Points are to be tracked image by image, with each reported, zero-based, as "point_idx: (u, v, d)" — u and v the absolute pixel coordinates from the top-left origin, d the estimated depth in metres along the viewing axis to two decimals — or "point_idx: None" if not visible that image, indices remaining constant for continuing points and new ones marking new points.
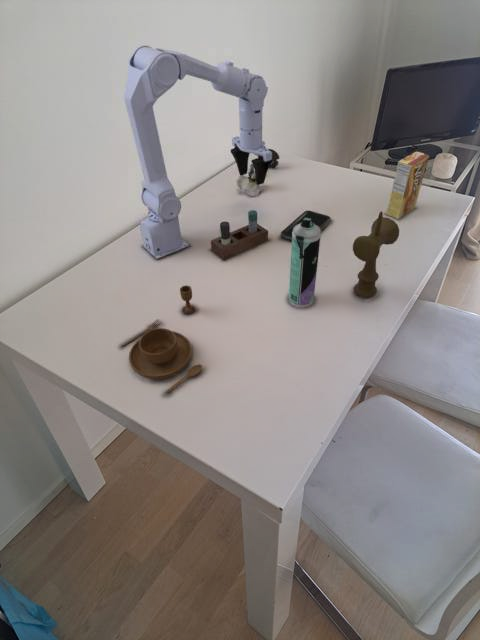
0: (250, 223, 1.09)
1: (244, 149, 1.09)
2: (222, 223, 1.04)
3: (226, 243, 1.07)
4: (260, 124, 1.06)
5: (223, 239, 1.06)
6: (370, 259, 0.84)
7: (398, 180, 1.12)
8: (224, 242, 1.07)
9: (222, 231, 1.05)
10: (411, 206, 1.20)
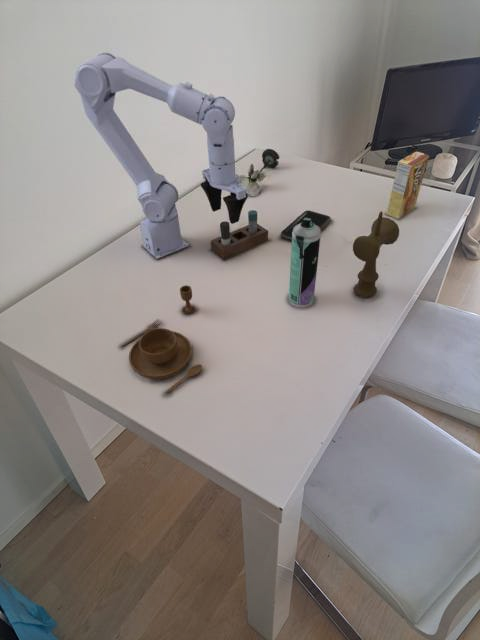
0: (250, 223, 1.09)
1: (214, 185, 0.96)
2: (222, 223, 1.04)
3: (226, 243, 1.07)
4: (223, 160, 0.92)
5: (223, 239, 1.06)
6: (370, 259, 0.84)
7: (398, 180, 1.12)
8: (224, 242, 1.07)
9: (222, 231, 1.05)
10: (411, 206, 1.20)
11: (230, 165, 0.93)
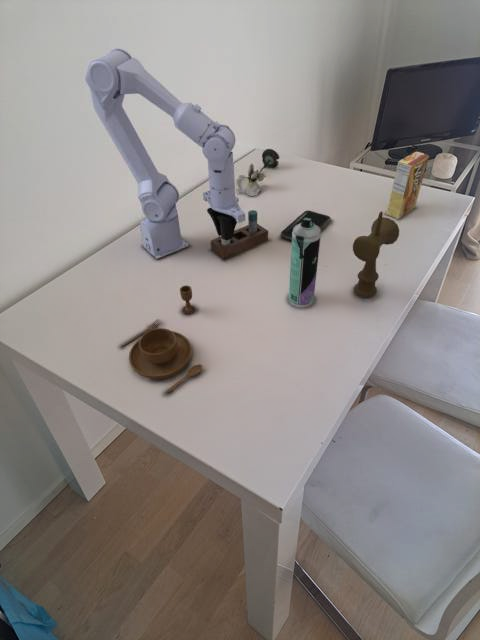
0: (250, 223, 1.09)
1: (215, 208, 0.99)
2: None
3: (226, 243, 1.07)
4: (223, 185, 0.95)
5: (223, 239, 1.06)
6: (370, 259, 0.84)
7: (398, 180, 1.12)
8: (224, 241, 1.07)
9: (222, 231, 1.05)
10: (411, 206, 1.20)
11: (230, 190, 0.96)
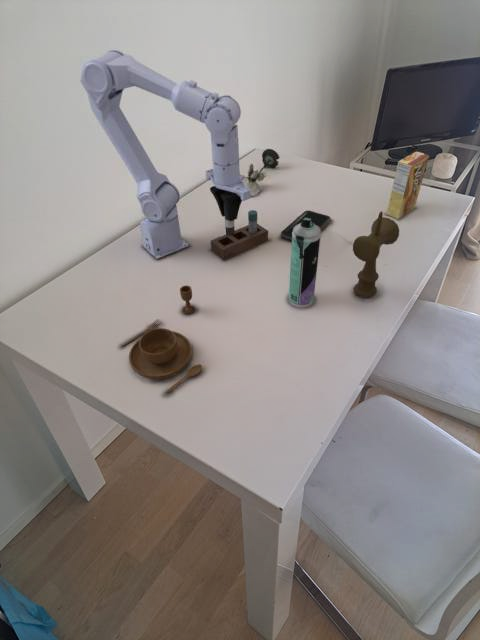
0: (250, 223, 1.09)
1: (218, 186, 0.94)
2: None
3: (230, 224, 1.02)
4: (226, 160, 0.90)
5: (227, 220, 1.01)
6: (370, 259, 0.84)
7: (398, 180, 1.12)
8: (227, 222, 1.01)
9: (226, 211, 1.00)
10: (411, 206, 1.20)
11: (234, 165, 0.91)
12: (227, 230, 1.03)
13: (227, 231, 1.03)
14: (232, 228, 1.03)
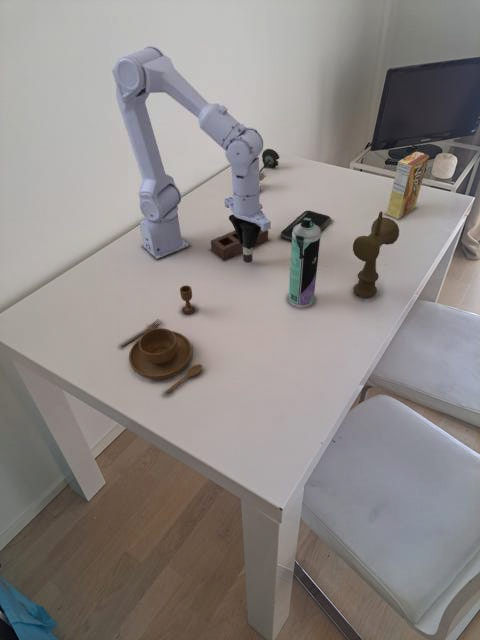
0: None
1: (238, 216, 0.94)
2: None
3: (248, 252, 1.02)
4: (245, 192, 0.89)
5: (245, 247, 1.01)
6: (370, 259, 0.84)
7: (398, 180, 1.12)
8: (246, 250, 1.01)
9: (244, 239, 0.99)
10: (411, 206, 1.20)
11: (255, 196, 0.91)
12: (245, 257, 1.03)
13: (245, 258, 1.03)
14: (250, 255, 1.02)
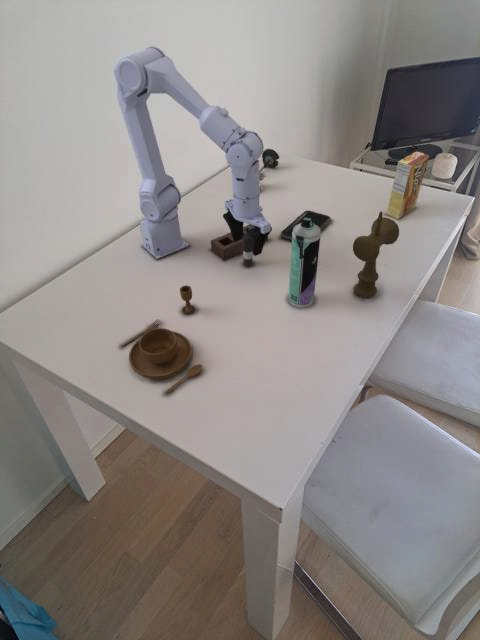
0: None
1: (238, 218, 0.94)
2: (245, 235, 1.00)
3: (248, 256, 1.02)
4: (245, 194, 0.90)
5: (245, 252, 1.02)
6: (370, 259, 0.84)
7: (398, 180, 1.12)
8: (246, 254, 1.02)
9: (244, 244, 1.00)
10: (411, 206, 1.20)
11: (255, 199, 0.91)
12: (245, 261, 1.04)
13: (245, 262, 1.04)
14: (250, 260, 1.03)
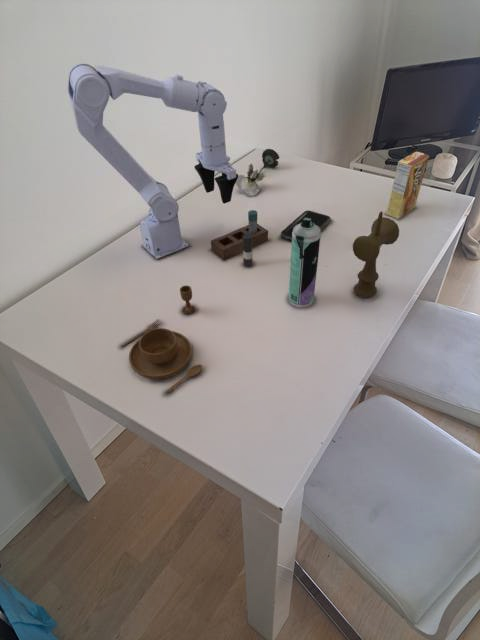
0: (250, 223, 1.09)
1: (207, 166, 1.02)
2: (245, 235, 1.00)
3: (248, 256, 1.02)
4: (220, 140, 0.98)
5: (245, 252, 1.02)
6: (370, 259, 0.84)
7: (398, 180, 1.12)
8: (246, 254, 1.02)
9: (244, 244, 1.00)
10: (411, 206, 1.20)
11: (221, 147, 0.99)
12: (245, 261, 1.04)
13: (245, 262, 1.04)
14: (250, 260, 1.03)
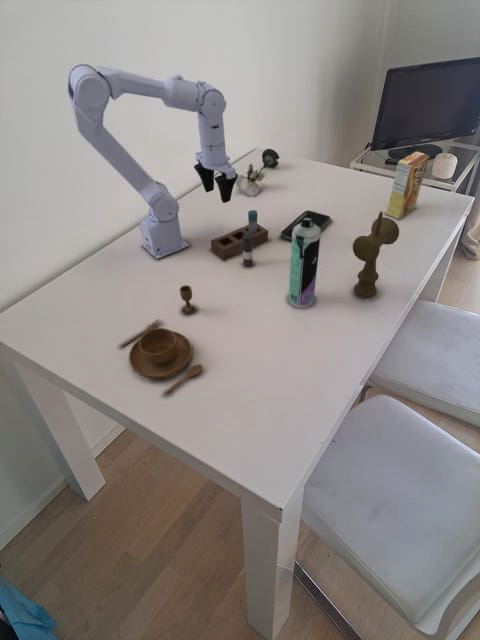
0: (250, 223, 1.09)
1: (206, 166, 1.02)
2: (245, 235, 1.00)
3: (248, 256, 1.02)
4: (220, 140, 0.98)
5: (245, 252, 1.02)
6: (370, 259, 0.84)
7: (398, 180, 1.12)
8: (246, 254, 1.02)
9: (244, 244, 1.00)
10: (411, 206, 1.20)
11: (220, 146, 0.99)
12: (245, 261, 1.04)
13: (245, 262, 1.04)
14: (250, 260, 1.03)
